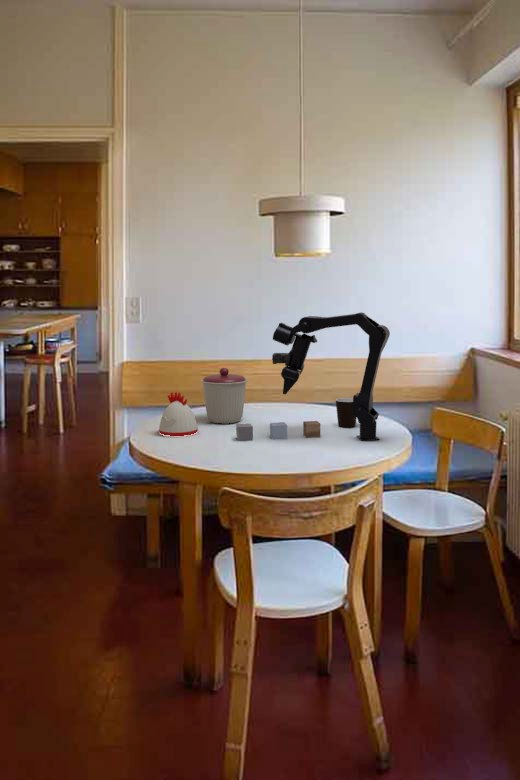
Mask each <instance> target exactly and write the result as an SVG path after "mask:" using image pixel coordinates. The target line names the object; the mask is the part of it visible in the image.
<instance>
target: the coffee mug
mask: <svg viewBox="0 0 520 780" xmlns="http://www.w3.org/2000/svg"><path fill="white" fill-rule="evenodd" d="M352 404H353V397H352V398H351V397H341V398H336V399H335V406H336V417H337V425H338V427H339V428H340V429H341V428H342V429H352V428H356V425H357V424H356V423H357V417H356V416H355V415H354V413H353V411H352V408H353V407H351V405H352Z"/></svg>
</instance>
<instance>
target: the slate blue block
mask: <svg viewBox="0 0 520 780" xmlns="http://www.w3.org/2000/svg"><path fill="white" fill-rule="evenodd" d="M269 436H270V438H271V439H272V440H273V441H274V440H287V439H288V425H287V424H286V422H285V421H284V422H282V421H281V422H270V423H269Z"/></svg>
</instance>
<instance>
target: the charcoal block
mask: <svg viewBox="0 0 520 780" xmlns="http://www.w3.org/2000/svg"><path fill="white" fill-rule="evenodd" d="M235 424H236V433H235V434H236V440H237V439H238V440H237V441H238V442H248V441H249V442H250V441H252V442H253V441H254V431H253V430H254V427H253V425H252V424H251V423H235Z"/></svg>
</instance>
